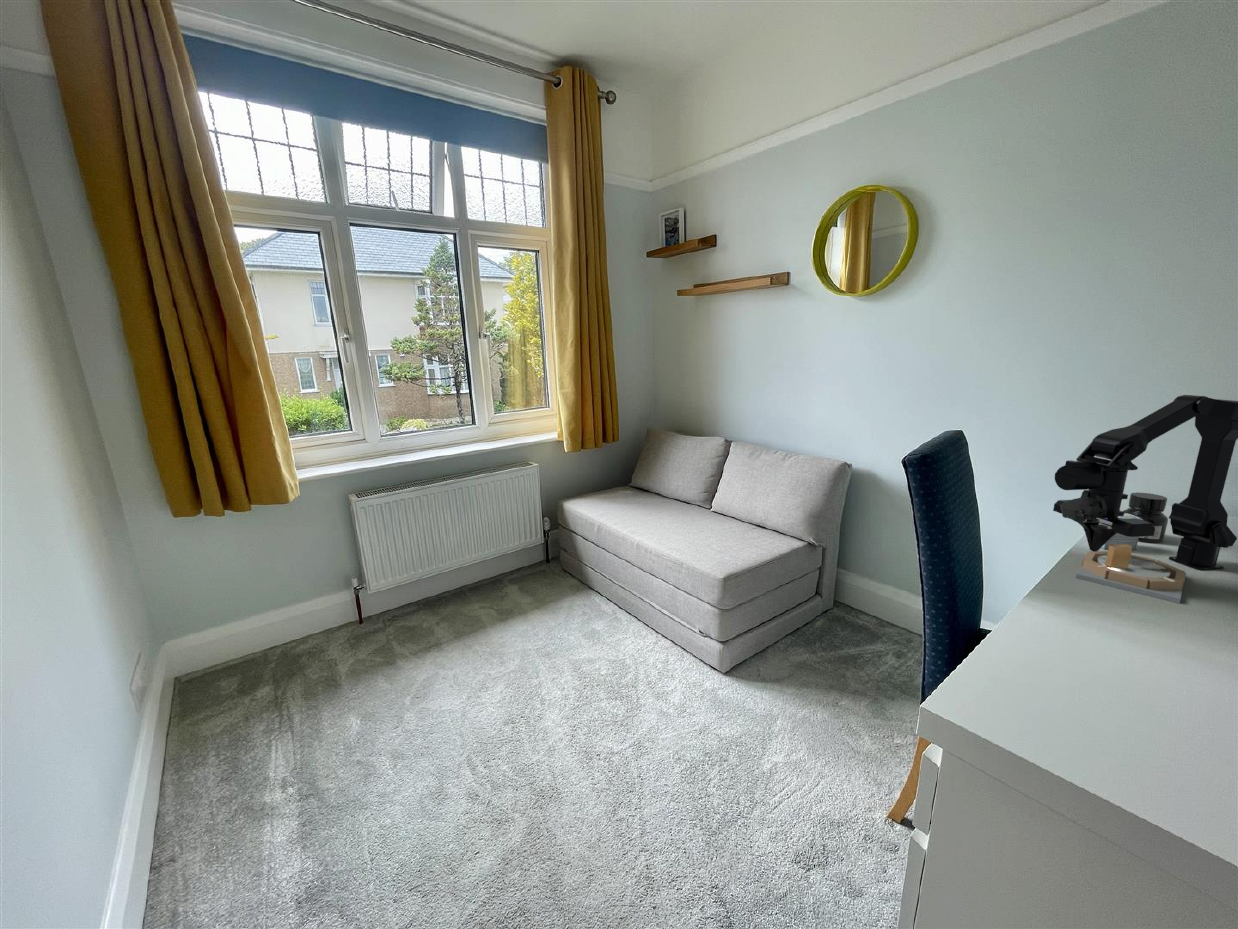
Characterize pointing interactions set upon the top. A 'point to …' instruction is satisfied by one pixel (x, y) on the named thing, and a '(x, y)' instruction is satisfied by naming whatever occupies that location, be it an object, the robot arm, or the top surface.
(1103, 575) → the dial plate
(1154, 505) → the ink bottle
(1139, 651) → the top surface
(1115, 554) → the dial
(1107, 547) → the medicine box
